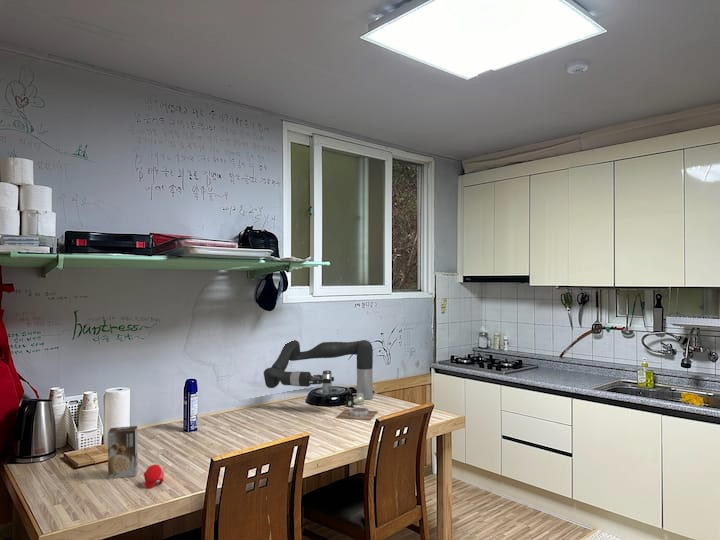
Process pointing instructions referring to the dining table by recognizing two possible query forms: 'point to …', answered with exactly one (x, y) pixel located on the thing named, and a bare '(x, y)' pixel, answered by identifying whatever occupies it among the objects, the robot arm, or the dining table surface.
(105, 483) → the dining table surface
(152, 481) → the cap
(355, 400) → the valve
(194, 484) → the dining table surface
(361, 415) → the ring
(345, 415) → the board
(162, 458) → the dining table surface
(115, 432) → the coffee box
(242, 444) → the dining table surface
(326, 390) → the cylinder
